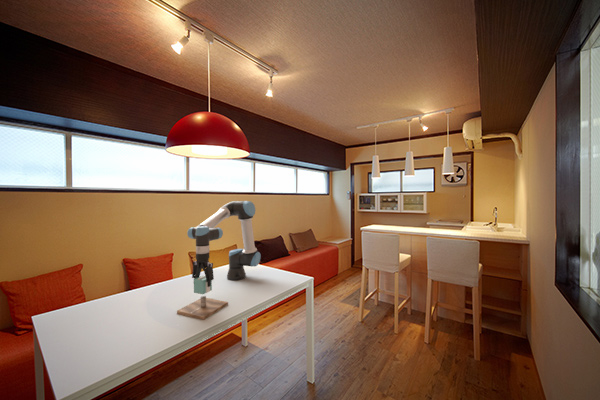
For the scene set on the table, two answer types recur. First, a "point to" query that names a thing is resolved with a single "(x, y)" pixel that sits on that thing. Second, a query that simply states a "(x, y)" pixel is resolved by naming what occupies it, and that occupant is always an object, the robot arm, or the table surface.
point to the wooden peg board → (202, 308)
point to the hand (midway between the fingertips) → (202, 290)
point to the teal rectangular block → (201, 285)
